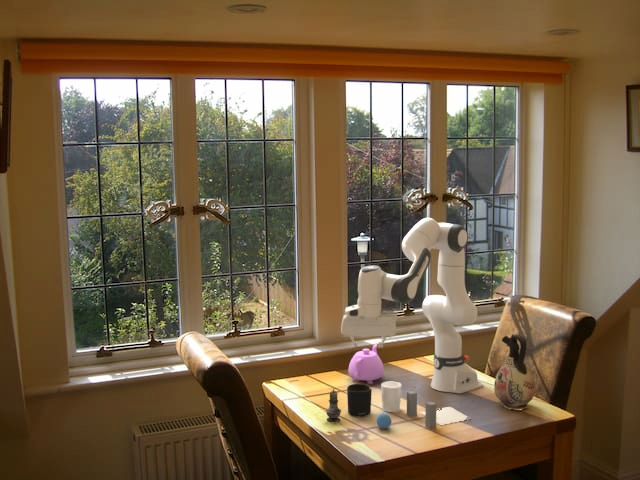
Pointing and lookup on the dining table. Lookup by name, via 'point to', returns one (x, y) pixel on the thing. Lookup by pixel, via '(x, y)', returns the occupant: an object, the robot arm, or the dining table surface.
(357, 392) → the pen holder
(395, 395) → the white cup
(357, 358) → the teapot
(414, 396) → the post
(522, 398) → the ceramic jug
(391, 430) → the dining table surface
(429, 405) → the post
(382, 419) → the ball
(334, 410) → the grey chess piece
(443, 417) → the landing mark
